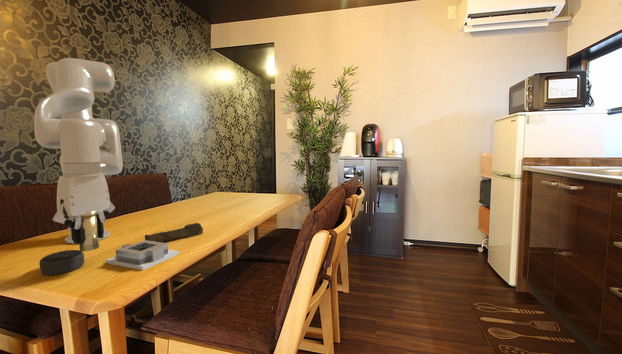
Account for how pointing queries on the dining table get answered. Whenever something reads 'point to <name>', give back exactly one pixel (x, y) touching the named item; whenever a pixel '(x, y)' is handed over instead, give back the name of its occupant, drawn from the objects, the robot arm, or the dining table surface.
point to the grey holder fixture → (142, 252)
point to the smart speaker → (61, 262)
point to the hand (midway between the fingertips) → (88, 239)
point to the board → (146, 265)
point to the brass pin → (89, 231)
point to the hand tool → (176, 233)
